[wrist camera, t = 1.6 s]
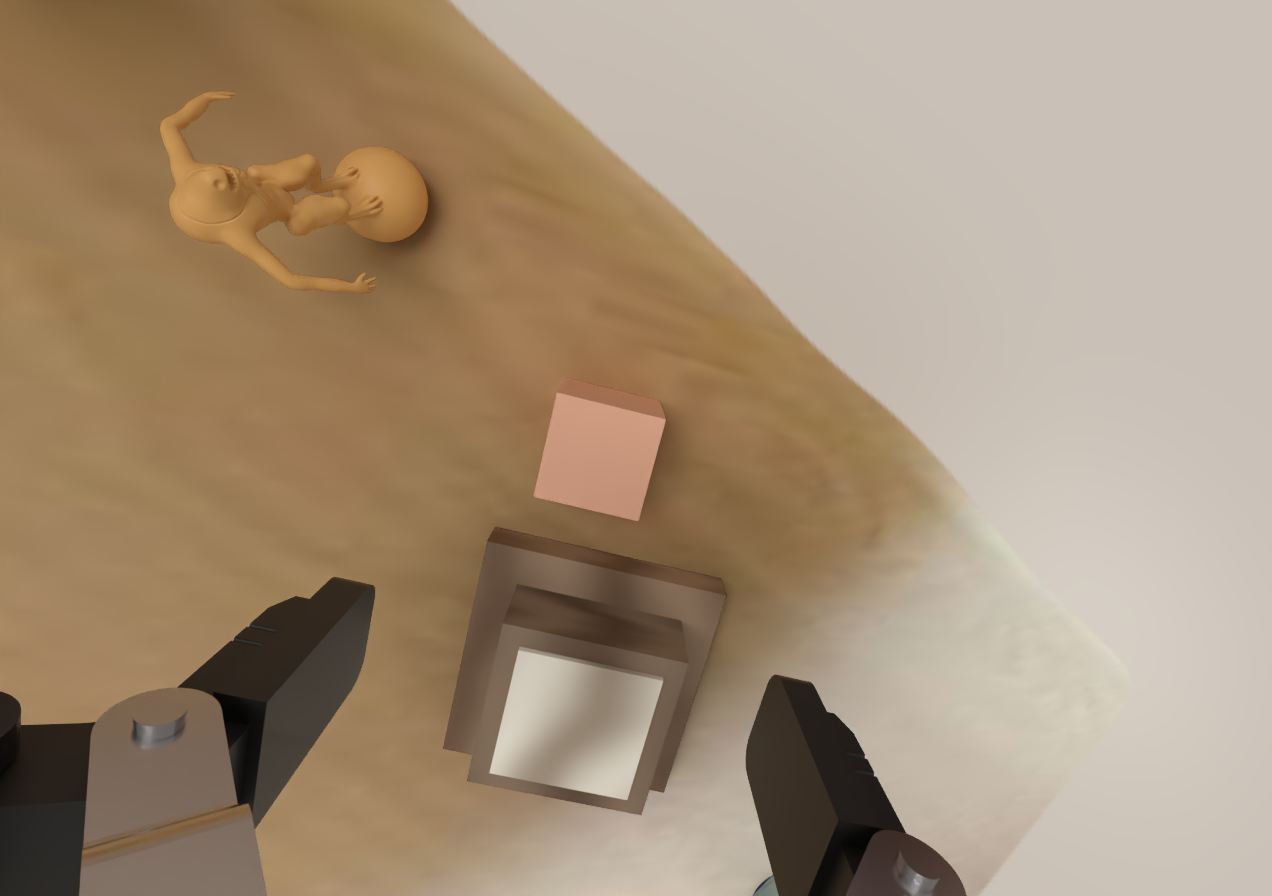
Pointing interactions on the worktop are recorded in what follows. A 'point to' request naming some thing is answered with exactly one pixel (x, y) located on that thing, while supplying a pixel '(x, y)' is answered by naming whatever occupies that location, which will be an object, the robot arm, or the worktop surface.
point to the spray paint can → (767, 888)
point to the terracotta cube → (600, 449)
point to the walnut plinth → (579, 670)
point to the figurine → (291, 199)
